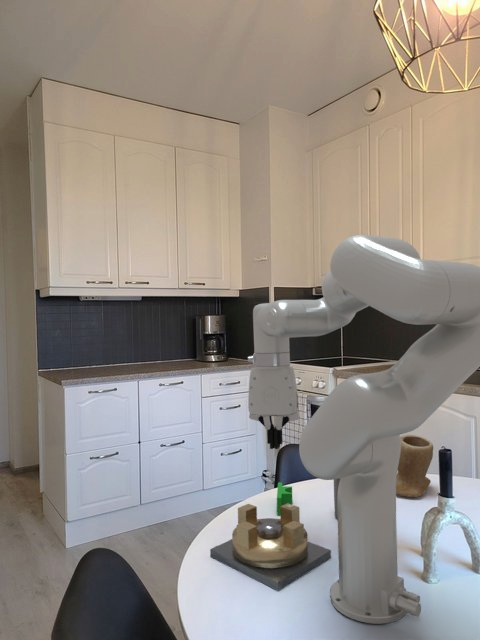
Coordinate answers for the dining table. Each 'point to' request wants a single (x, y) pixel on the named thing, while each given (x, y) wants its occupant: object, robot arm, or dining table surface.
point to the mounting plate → (272, 576)
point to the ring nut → (269, 538)
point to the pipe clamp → (283, 496)
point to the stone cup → (413, 466)
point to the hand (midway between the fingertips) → (275, 447)
